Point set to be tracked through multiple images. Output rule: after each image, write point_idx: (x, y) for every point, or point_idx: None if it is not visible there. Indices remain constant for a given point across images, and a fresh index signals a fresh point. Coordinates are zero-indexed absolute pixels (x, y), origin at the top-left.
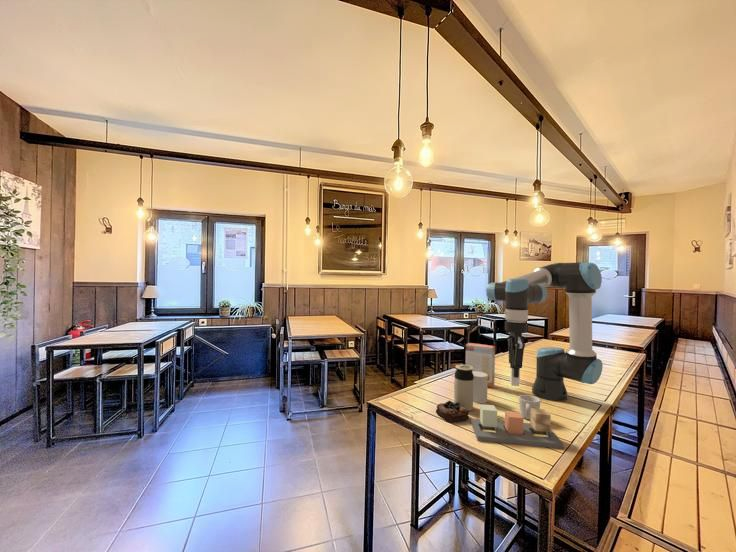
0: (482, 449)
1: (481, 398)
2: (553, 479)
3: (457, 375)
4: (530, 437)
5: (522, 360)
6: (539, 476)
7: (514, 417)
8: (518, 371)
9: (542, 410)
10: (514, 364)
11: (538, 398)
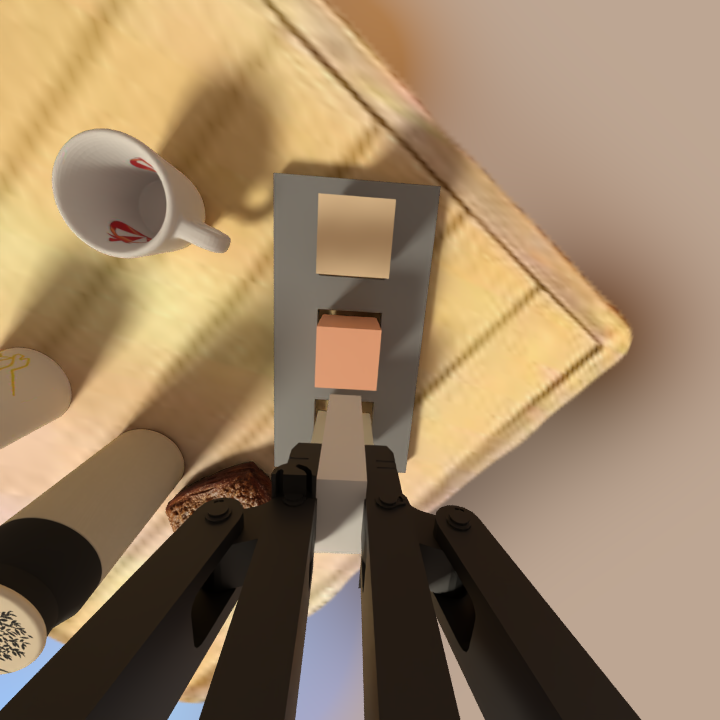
0: (453, 461)
1: (51, 388)
2: (605, 317)
3: (69, 617)
4: (399, 299)
5: (561, 622)
6: (589, 350)
7: (377, 367)
8: (398, 485)
9: (339, 218)
10: (456, 613)
11: (96, 133)
